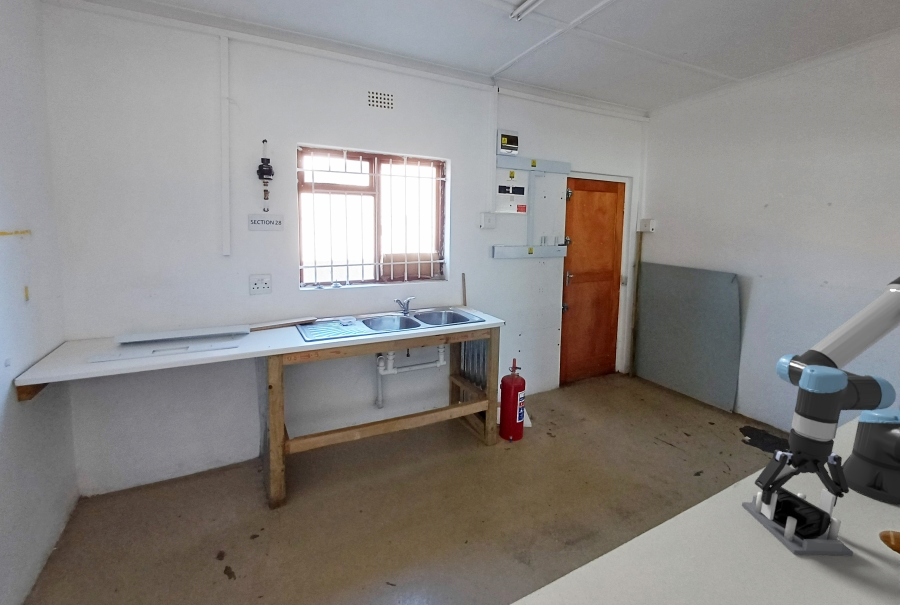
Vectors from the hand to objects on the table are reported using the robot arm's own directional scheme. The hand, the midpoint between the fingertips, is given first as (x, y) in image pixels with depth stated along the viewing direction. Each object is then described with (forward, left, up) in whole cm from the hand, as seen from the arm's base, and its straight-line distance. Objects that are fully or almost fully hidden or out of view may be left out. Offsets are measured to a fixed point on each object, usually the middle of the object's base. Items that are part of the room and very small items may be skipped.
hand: (795, 516), depth 97 cm
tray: (0, 0, -3) cm, 3 cm away
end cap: (0, 0, -2) cm, 2 cm away
